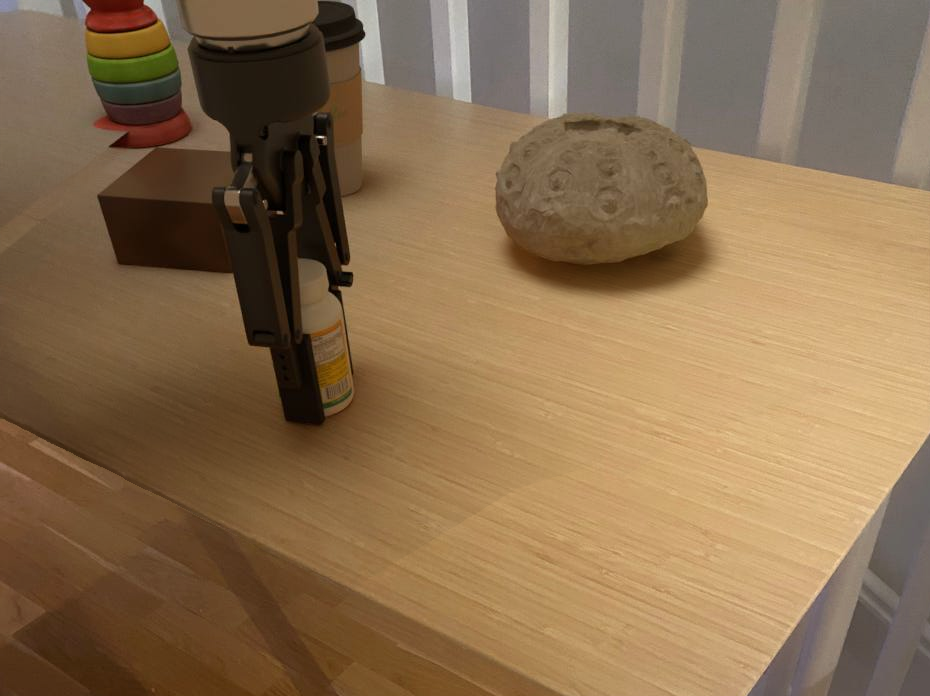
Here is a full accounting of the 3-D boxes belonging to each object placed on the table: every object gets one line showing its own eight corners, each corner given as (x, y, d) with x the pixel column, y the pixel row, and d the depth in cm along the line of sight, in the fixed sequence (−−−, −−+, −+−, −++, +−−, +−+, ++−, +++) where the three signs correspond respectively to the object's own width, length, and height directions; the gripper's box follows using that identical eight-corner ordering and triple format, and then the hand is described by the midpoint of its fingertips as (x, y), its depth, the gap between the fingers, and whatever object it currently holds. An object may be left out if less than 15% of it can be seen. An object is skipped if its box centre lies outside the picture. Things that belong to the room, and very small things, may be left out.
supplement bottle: (349, 420, 69) (330, 290, 62) (274, 420, 69) (246, 292, 62) (359, 378, 73) (341, 252, 66) (287, 379, 73) (262, 253, 66)
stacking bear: (144, 111, 115) (96, -74, 102) (214, 122, 112) (173, -68, 99) (81, 143, 109) (21, -50, 96) (153, 155, 105) (101, -42, 92)
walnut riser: (117, 263, 88) (96, 195, 83) (172, 212, 95) (155, 146, 91) (231, 273, 85) (215, 203, 81) (278, 219, 93) (266, 153, 88)
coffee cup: (302, 212, 94) (272, 34, 83) (275, 178, 100) (244, 7, 89) (394, 193, 96) (377, 17, 85) (362, 160, 102) (343, -8, 91)
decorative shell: (593, 187, 95) (598, 73, 88) (743, 243, 86) (762, 120, 79) (456, 247, 87) (449, 127, 80) (604, 316, 78) (612, 187, 71)
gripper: (250, 87, 47) (325, 478, 64) (370, -13, 60) (407, 337, 76) (110, 82, 49) (219, 466, 65) (255, -15, 61) (316, 329, 78)
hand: (320, 396), depth 71 cm, fingers closed on supplement bottle, 5 cm apart
